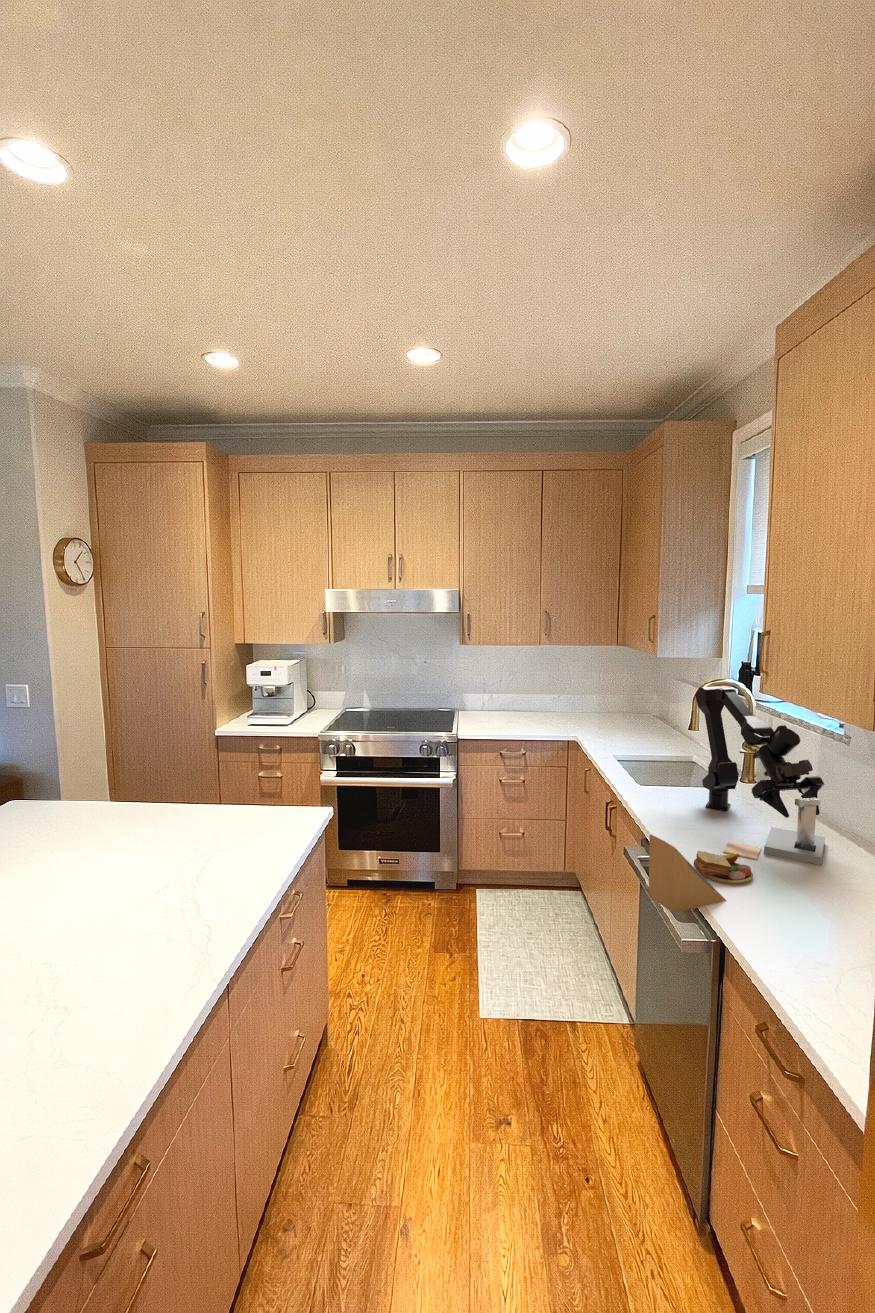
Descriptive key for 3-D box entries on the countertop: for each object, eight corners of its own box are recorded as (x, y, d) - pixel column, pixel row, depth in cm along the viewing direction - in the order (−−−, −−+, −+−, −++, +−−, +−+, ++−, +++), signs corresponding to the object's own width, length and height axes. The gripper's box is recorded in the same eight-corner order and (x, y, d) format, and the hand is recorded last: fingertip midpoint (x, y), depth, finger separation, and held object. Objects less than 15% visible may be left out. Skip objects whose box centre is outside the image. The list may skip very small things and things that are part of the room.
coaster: (728, 842, 170) (728, 841, 170) (761, 849, 165) (761, 847, 165) (723, 852, 163) (723, 851, 163) (756, 859, 159) (756, 858, 159)
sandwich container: (728, 901, 138) (731, 838, 137) (673, 914, 133) (675, 848, 132) (700, 884, 146) (702, 824, 145) (647, 895, 141) (649, 833, 140)
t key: (789, 851, 164) (791, 797, 162) (808, 850, 165) (811, 796, 163) (800, 858, 160) (803, 802, 158) (820, 856, 161) (823, 801, 159)
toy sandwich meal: (757, 890, 144) (758, 870, 143) (695, 882, 148) (696, 863, 147) (748, 867, 156) (748, 849, 155) (691, 860, 160) (691, 843, 159)
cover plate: (771, 833, 176) (771, 827, 176) (824, 843, 168) (824, 836, 168) (763, 853, 163) (764, 846, 163) (821, 865, 155) (821, 857, 155)
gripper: (760, 751, 164) (788, 804, 155) (820, 747, 168) (852, 799, 158) (739, 772, 173) (765, 823, 163) (797, 768, 176) (826, 818, 166)
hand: (803, 815), depth 162 cm, fingers open, 9 cm apart
